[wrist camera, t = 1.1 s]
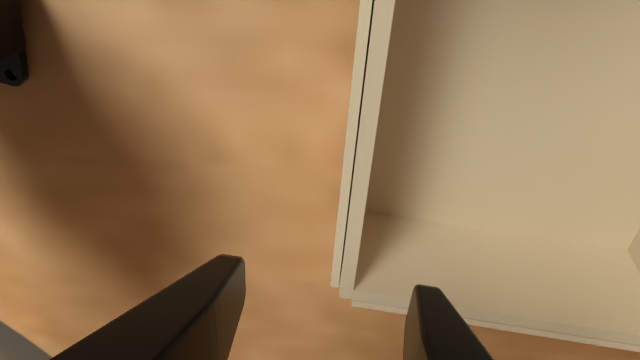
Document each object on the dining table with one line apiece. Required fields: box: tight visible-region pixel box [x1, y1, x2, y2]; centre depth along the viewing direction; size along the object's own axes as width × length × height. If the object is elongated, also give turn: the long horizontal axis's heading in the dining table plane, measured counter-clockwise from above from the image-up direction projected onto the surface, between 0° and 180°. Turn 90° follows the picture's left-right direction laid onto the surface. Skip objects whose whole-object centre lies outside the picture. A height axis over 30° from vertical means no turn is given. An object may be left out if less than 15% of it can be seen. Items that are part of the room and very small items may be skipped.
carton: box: [330, 0, 640, 352], centre depth 16 cm, size 12×17×5 cm
